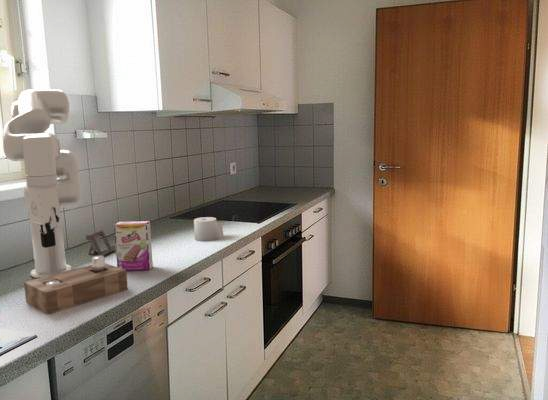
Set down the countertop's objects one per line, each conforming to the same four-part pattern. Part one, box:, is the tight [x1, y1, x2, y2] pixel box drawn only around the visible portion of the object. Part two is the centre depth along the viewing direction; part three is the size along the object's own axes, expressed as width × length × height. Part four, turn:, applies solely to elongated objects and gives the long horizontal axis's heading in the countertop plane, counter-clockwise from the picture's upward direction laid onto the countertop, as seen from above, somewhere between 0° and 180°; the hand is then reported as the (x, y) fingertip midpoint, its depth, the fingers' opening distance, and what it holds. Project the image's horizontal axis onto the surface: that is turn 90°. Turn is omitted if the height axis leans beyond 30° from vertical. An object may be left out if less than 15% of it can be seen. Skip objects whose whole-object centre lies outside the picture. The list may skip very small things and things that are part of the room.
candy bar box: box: [113, 220, 154, 272], centre depth 165 cm, size 11×5×16 cm, turn 92°
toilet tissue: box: [193, 216, 225, 243], centre depth 207 cm, size 9×13×9 cm
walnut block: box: [23, 262, 128, 315], centre depth 141 cm, size 14×24×6 cm, turn 139°
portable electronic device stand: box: [85, 229, 116, 257], centre depth 187 cm, size 9×8×8 cm
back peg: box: [91, 255, 106, 273], centre depth 146 cm, size 4×4×6 cm
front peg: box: [46, 280, 60, 286], centre depth 136 cm, size 4×4×6 cm
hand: (48, 246), depth 135 cm, fingers closed
